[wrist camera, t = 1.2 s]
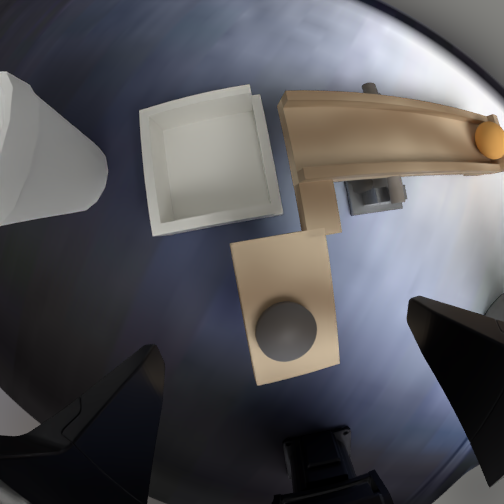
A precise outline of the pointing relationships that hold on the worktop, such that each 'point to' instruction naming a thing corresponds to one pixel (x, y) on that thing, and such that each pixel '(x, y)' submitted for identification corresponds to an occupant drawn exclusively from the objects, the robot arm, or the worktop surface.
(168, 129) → the dish
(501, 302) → the coffeepot
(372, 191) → the fulcrum
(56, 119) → the foam cup
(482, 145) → the ball
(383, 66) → the worktop surface
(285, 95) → the lever
